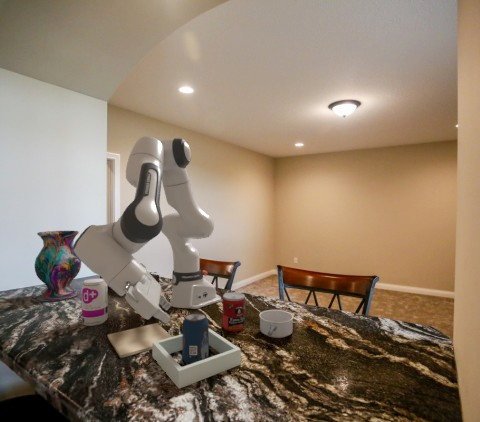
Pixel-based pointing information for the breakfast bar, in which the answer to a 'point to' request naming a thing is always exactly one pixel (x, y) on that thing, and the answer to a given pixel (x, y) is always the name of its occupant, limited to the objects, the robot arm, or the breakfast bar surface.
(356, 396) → the breakfast bar surface
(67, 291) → the vase
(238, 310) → the canned food
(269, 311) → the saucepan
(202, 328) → the soda can
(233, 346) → the rectangular frame
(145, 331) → the board
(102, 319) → the supplement can
